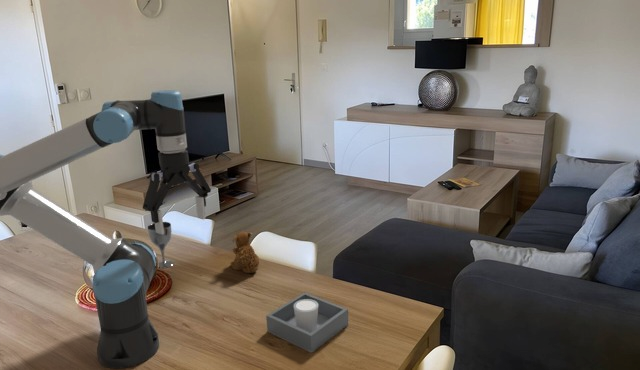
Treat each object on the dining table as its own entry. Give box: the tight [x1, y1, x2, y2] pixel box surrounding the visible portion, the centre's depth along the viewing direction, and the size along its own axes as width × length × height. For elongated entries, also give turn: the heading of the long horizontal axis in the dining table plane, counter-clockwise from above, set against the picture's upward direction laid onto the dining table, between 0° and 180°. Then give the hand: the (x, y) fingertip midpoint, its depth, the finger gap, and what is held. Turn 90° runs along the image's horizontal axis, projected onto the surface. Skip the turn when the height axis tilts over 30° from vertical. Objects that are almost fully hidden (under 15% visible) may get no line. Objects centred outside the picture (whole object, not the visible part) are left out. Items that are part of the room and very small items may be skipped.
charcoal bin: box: [265, 291, 349, 354], centre depth 135 cm, size 16×16×5 cm
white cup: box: [294, 299, 318, 333], centre depth 135 cm, size 7×7×7 cm
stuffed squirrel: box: [230, 231, 260, 274], centre depth 171 cm, size 10×14×13 cm
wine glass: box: [147, 221, 175, 269], centre depth 176 cm, size 8×8×15 cm
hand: (181, 225), depth 135 cm, fingers open, 13 cm apart
